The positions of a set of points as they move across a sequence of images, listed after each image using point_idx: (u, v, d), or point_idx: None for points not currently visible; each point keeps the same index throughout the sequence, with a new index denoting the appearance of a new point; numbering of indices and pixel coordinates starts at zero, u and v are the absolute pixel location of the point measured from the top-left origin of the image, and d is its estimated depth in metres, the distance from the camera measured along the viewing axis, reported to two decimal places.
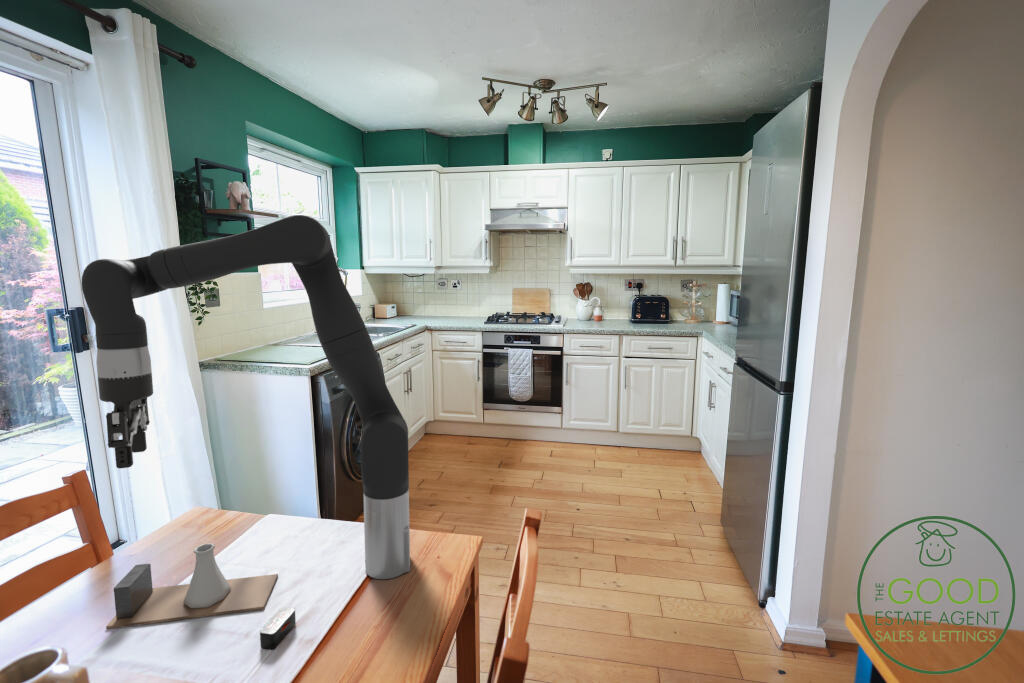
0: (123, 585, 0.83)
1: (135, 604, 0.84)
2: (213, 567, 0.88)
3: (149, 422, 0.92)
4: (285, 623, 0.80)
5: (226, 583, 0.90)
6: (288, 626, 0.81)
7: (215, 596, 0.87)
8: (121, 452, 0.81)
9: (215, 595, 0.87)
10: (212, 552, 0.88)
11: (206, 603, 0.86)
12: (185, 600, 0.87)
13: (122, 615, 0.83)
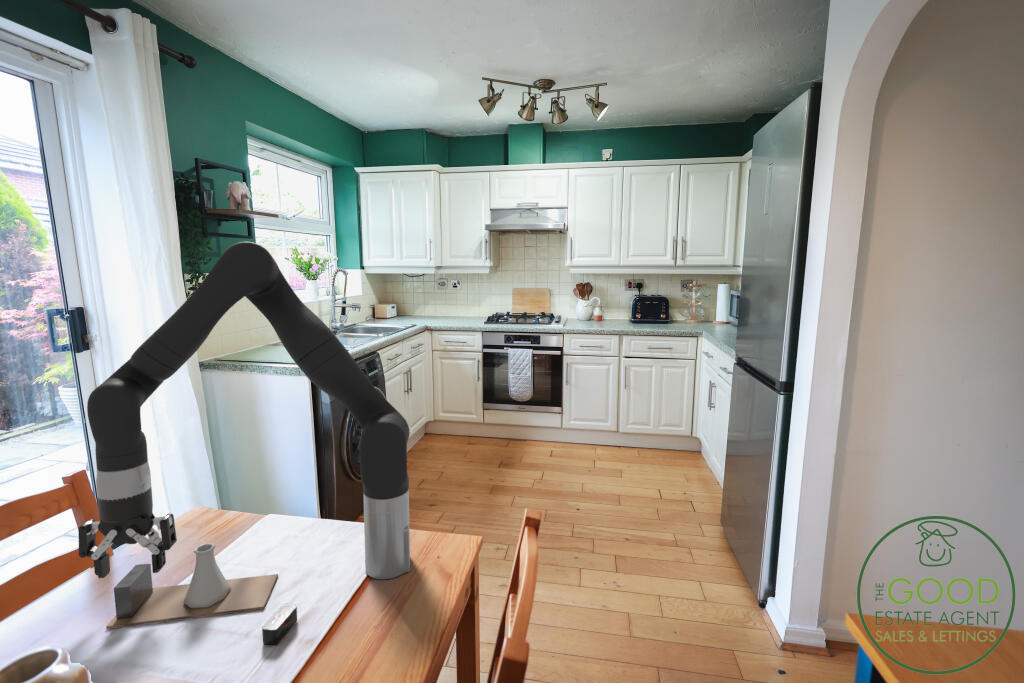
0: (123, 585, 0.83)
1: (135, 603, 0.84)
2: (213, 567, 0.88)
3: None
4: (287, 619, 0.81)
5: (226, 583, 0.90)
6: (290, 622, 0.81)
7: (215, 596, 0.87)
8: None
9: (215, 595, 0.87)
10: (212, 552, 0.88)
11: (206, 603, 0.86)
12: (185, 600, 0.87)
13: (122, 615, 0.83)
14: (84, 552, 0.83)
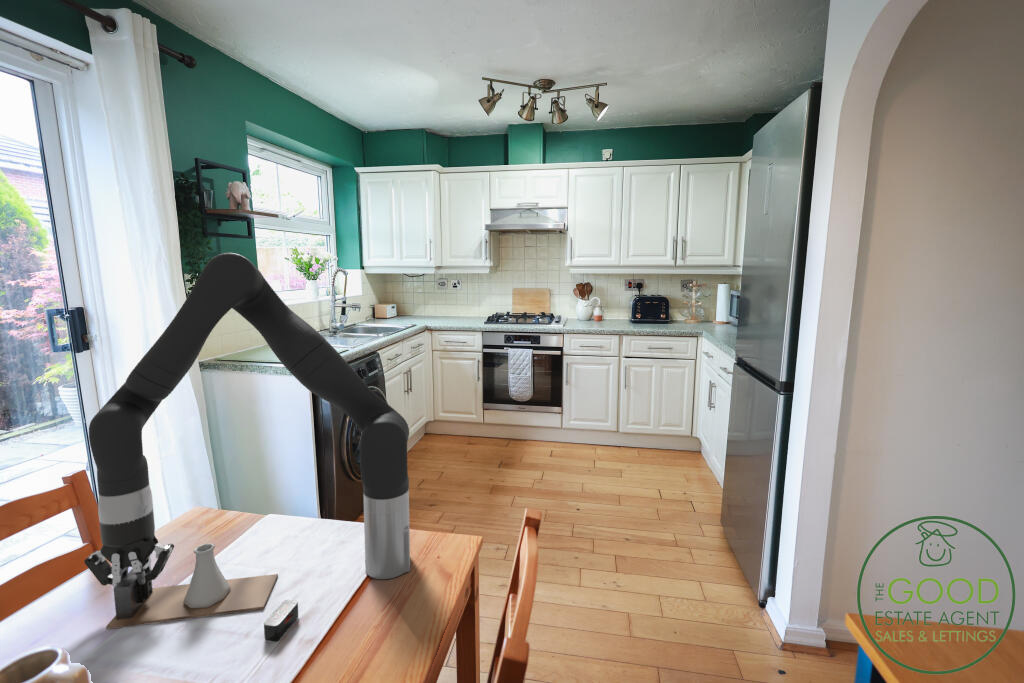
0: (123, 585, 0.83)
1: (135, 604, 0.84)
2: (213, 567, 0.88)
3: None
4: (288, 615, 0.82)
5: (226, 583, 0.90)
6: (291, 618, 0.82)
7: (215, 596, 0.87)
8: None
9: (215, 595, 0.87)
10: (212, 552, 0.88)
11: (206, 603, 0.86)
12: (185, 600, 0.87)
13: (122, 615, 0.83)
14: (106, 580, 0.84)
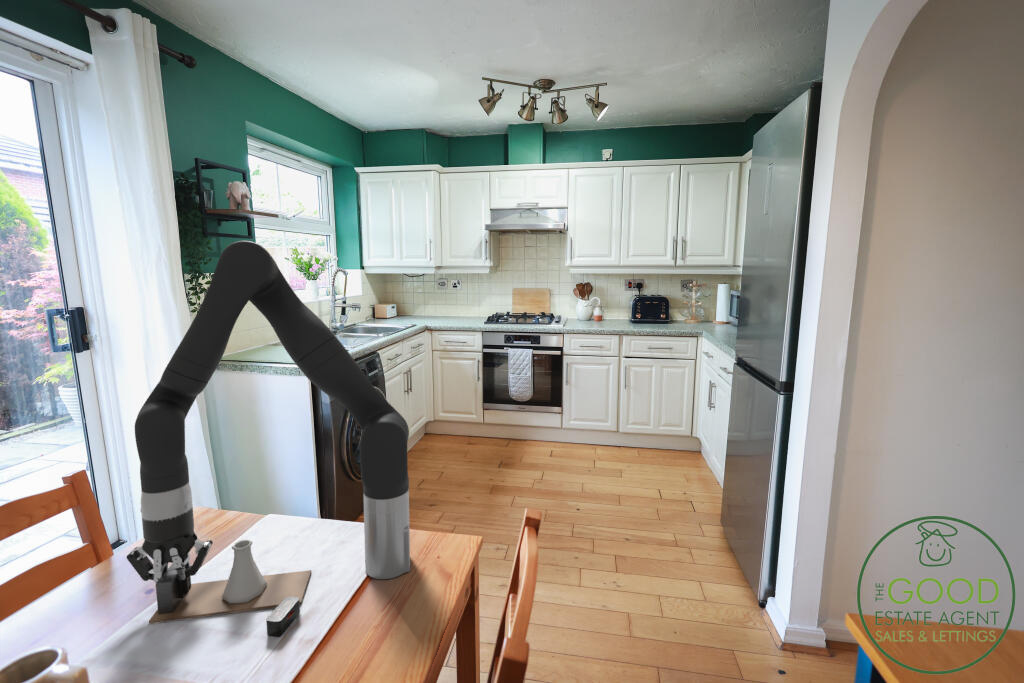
0: (164, 580, 0.84)
1: (175, 599, 0.86)
2: (251, 563, 0.90)
3: None
4: (290, 611, 0.83)
5: (262, 579, 0.92)
6: (293, 614, 0.83)
7: (253, 592, 0.89)
8: None
9: (253, 590, 0.89)
10: (249, 548, 0.90)
11: (245, 598, 0.87)
12: (224, 595, 0.88)
13: (163, 610, 0.84)
14: (147, 575, 0.85)
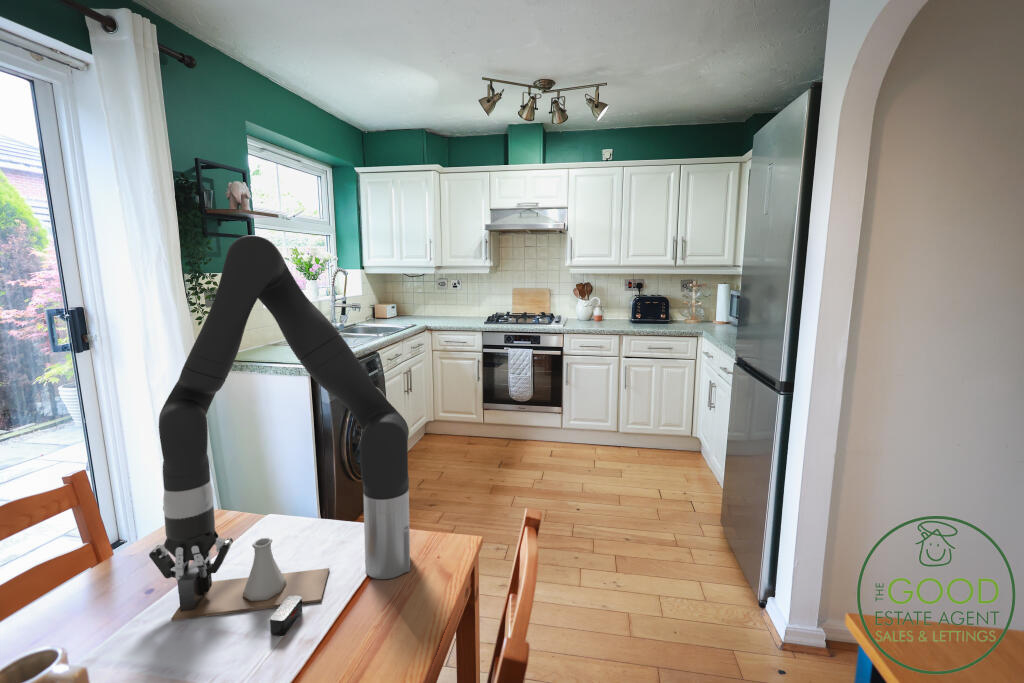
0: (186, 577, 0.85)
1: (197, 596, 0.86)
2: (271, 560, 0.90)
3: None
4: (293, 610, 0.83)
5: (282, 577, 0.92)
6: (296, 613, 0.84)
7: (273, 589, 0.89)
8: None
9: (273, 588, 0.89)
10: (269, 546, 0.90)
11: (265, 596, 0.88)
12: (244, 593, 0.89)
13: (186, 607, 0.85)
14: (169, 573, 0.86)
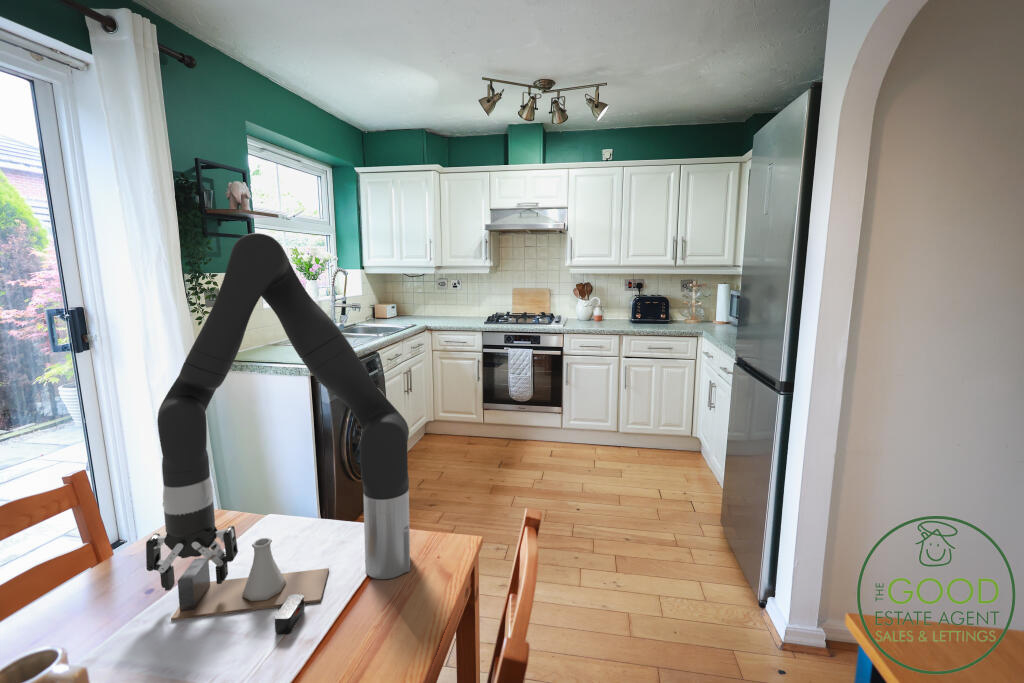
0: (186, 578, 0.85)
1: (196, 596, 0.86)
2: (271, 561, 0.90)
3: None
4: (297, 608, 0.83)
5: (282, 577, 0.92)
6: (299, 611, 0.84)
7: (273, 589, 0.89)
8: None
9: (273, 588, 0.89)
10: (269, 546, 0.90)
11: (265, 596, 0.88)
12: (244, 593, 0.89)
13: (185, 607, 0.85)
14: (151, 566, 0.85)
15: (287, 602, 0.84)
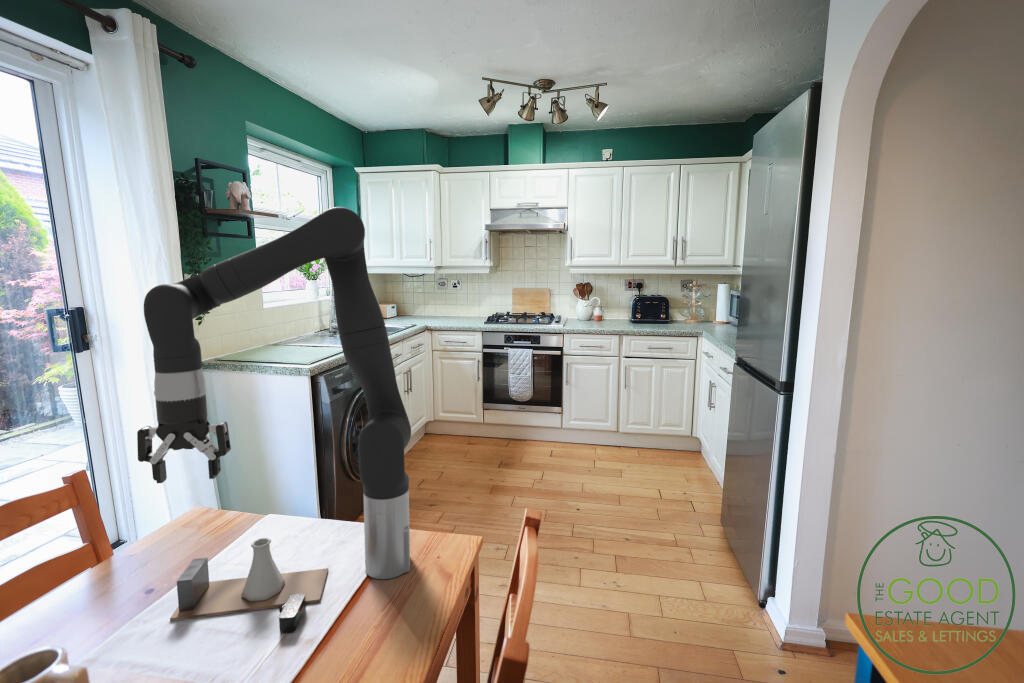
0: (185, 578, 0.85)
1: (196, 596, 0.86)
2: (270, 561, 0.90)
3: None
4: (300, 607, 0.84)
5: (281, 577, 0.92)
6: (302, 609, 0.85)
7: (272, 589, 0.89)
8: None
9: (272, 588, 0.89)
10: (268, 546, 0.90)
11: (264, 596, 0.88)
12: (243, 593, 0.89)
13: (184, 607, 0.85)
14: (143, 456, 0.84)
15: (289, 602, 0.84)
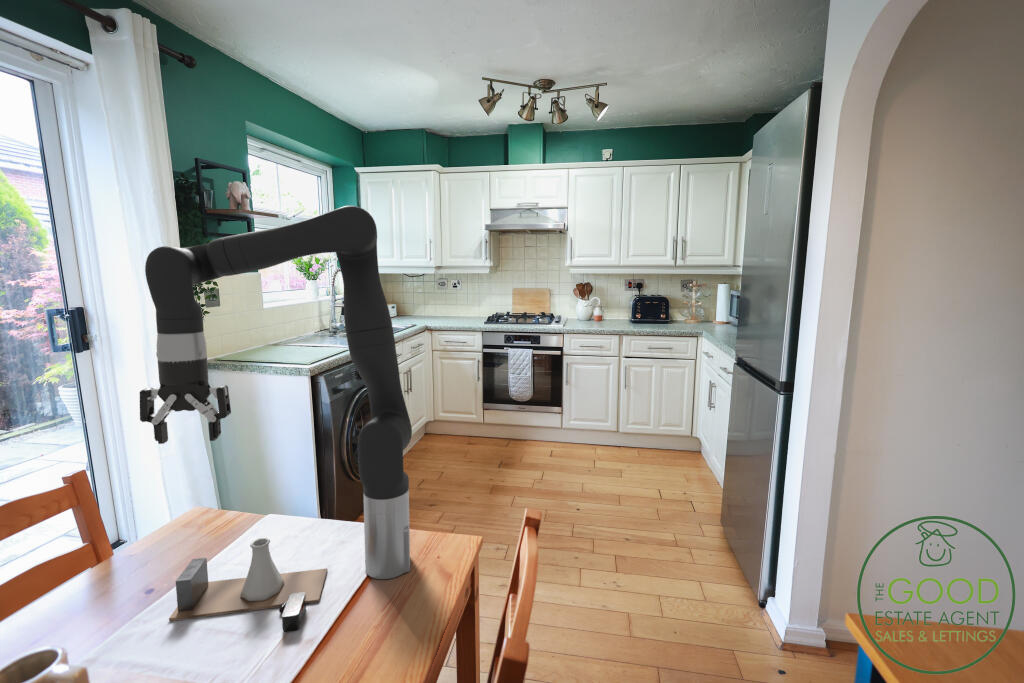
0: (184, 578, 0.85)
1: (195, 596, 0.86)
2: (269, 561, 0.90)
3: None
4: (302, 605, 0.84)
5: (280, 577, 0.92)
6: (303, 608, 0.85)
7: (271, 589, 0.89)
8: None
9: (271, 588, 0.89)
10: (267, 546, 0.90)
11: (263, 596, 0.88)
12: (242, 593, 0.89)
13: (183, 607, 0.85)
14: (145, 416, 0.85)
15: (290, 601, 0.85)
